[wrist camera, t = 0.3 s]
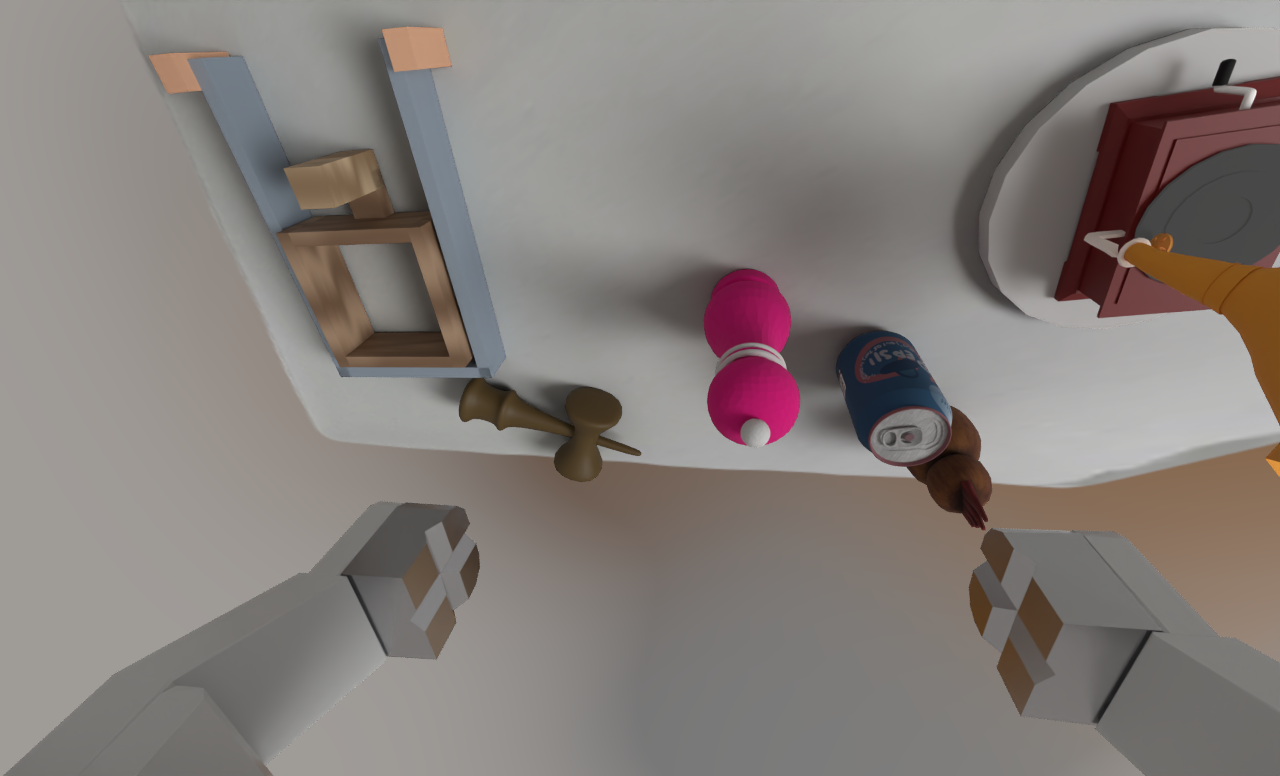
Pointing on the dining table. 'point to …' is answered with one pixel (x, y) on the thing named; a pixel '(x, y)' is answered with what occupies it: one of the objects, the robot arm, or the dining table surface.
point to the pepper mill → (750, 360)
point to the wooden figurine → (958, 473)
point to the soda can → (893, 399)
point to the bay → (427, 135)
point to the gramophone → (1151, 194)
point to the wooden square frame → (331, 281)
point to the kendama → (553, 423)
